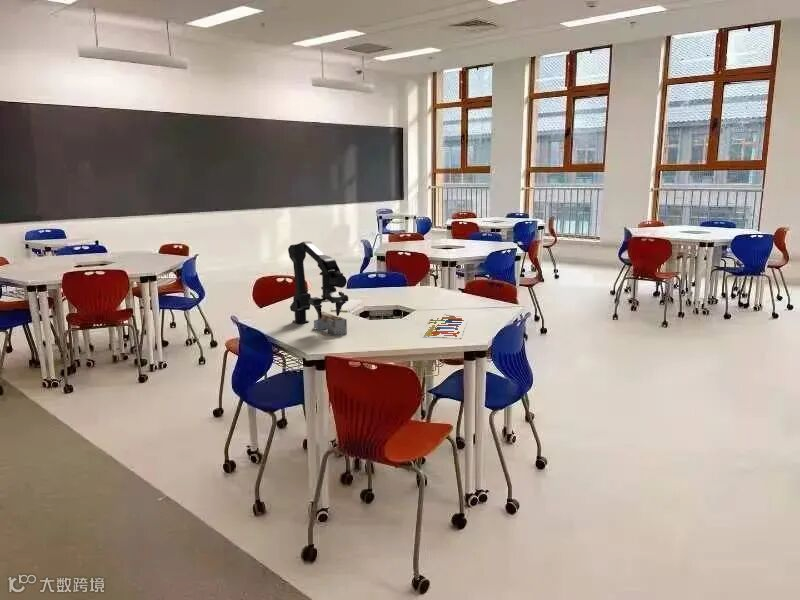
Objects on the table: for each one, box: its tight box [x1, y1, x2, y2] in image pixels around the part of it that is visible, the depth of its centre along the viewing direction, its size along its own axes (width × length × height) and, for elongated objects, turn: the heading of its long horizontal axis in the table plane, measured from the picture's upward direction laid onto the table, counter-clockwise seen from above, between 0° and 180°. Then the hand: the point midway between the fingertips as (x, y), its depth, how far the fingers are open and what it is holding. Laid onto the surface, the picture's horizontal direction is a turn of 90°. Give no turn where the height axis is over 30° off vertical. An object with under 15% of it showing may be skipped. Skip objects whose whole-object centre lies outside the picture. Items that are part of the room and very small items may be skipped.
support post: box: [313, 318, 327, 330], centre depth 292 cm, size 4×8×4 cm, turn 125°
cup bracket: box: [326, 316, 348, 337], centre depth 281 cm, size 6×7×7 cm
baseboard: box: [330, 298, 363, 313], centre depth 343 cm, size 31×3×12 cm
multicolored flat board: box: [424, 314, 464, 337], centre depth 295 cm, size 45×2×19 cm
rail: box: [317, 311, 342, 323], centre depth 286 cm, size 18×3×4 cm, turn 35°
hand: (329, 317), depth 286 cm, fingers open, 9 cm apart
